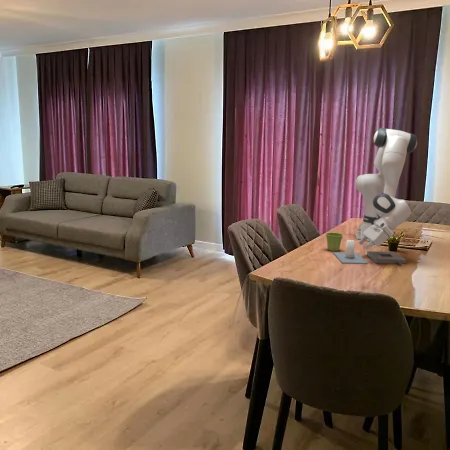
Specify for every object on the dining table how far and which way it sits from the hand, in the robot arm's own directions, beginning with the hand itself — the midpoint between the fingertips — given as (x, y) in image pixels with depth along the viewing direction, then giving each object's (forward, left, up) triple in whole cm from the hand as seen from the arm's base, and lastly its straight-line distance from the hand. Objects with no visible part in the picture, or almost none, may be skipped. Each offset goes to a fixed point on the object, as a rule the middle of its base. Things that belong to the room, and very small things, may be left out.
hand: (362, 246), depth 235 cm
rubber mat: (0, -6, -6) cm, 9 cm away
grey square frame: (+3, +12, -6) cm, 14 cm away
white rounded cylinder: (0, -6, -6) cm, 8 cm away
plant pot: (-18, -10, -7) cm, 22 cm away
